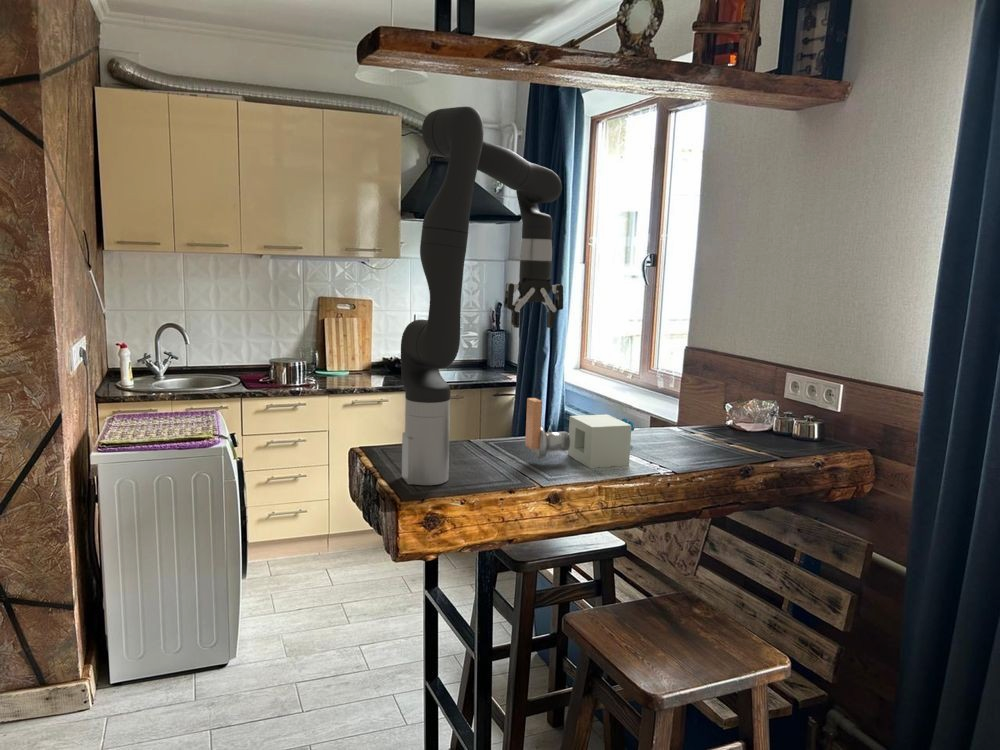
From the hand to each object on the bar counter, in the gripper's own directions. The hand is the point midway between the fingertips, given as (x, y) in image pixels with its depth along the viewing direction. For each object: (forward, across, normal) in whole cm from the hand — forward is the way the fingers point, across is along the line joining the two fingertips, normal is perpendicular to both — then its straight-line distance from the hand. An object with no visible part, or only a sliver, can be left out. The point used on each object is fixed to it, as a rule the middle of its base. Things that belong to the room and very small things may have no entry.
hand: (532, 327), depth 177 cm
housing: (+30, +13, -12) cm, 35 cm away
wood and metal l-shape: (+29, 0, -12) cm, 31 cm away
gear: (+30, +24, +1) cm, 38 cm away
